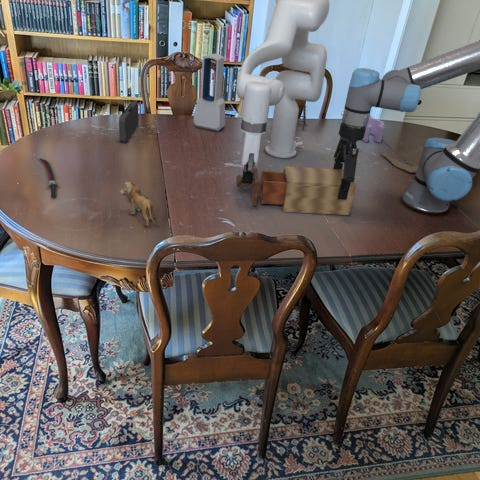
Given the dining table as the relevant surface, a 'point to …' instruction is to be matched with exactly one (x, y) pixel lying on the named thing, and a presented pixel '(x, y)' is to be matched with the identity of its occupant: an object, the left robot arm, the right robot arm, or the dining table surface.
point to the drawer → (267, 187)
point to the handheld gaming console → (128, 121)
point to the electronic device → (207, 106)
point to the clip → (374, 129)
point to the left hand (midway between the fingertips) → (247, 182)
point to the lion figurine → (137, 201)
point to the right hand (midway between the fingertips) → (338, 190)
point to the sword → (52, 181)
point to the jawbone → (401, 164)
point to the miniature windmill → (303, 110)
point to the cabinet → (316, 191)
